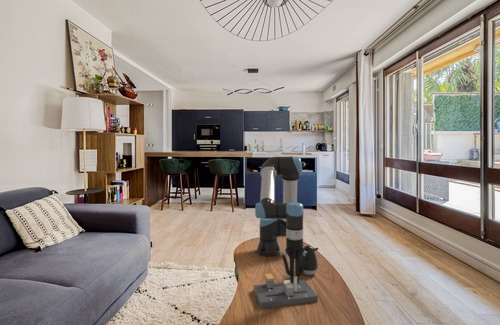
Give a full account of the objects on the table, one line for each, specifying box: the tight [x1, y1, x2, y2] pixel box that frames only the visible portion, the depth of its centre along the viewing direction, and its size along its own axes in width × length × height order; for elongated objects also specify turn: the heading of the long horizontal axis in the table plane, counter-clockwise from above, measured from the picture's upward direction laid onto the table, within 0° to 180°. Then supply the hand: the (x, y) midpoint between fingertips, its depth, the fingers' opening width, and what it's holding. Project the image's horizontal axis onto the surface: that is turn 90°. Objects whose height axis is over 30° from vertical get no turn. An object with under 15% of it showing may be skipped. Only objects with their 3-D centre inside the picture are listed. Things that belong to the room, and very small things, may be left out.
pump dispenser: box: [300, 244, 319, 276], centre depth 144 cm, size 10×10×15 cm
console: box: [252, 279, 319, 309], centre depth 122 cm, size 15×26×3 cm, turn 101°
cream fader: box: [282, 279, 293, 296], centre depth 119 cm, size 5×3×5 cm, turn 11°
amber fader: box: [264, 273, 275, 289], centre depth 126 cm, size 5×3×5 cm, turn 11°
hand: (294, 289), depth 120 cm, fingers closed
